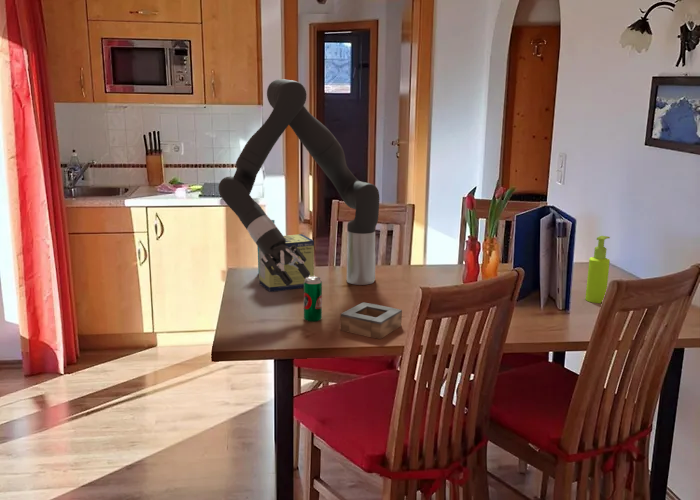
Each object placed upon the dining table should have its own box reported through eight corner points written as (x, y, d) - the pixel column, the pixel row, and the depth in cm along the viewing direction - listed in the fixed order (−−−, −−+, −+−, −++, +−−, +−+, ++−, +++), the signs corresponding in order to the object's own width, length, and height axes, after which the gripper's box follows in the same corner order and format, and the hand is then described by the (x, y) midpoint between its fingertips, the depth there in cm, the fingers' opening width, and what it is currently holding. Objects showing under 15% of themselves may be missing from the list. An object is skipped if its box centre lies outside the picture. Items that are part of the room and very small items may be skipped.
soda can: (319, 323, 188) (319, 281, 185) (301, 321, 188) (301, 280, 186) (323, 317, 192) (323, 276, 190) (306, 316, 193) (306, 275, 190)
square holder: (363, 317, 192) (363, 302, 191) (401, 325, 186) (402, 309, 185) (340, 330, 182) (340, 313, 181) (380, 339, 176) (380, 322, 175)
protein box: (314, 286, 221) (314, 240, 218) (269, 292, 215) (268, 244, 211) (302, 278, 231) (302, 233, 227) (258, 283, 224) (257, 237, 220)
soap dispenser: (609, 299, 212) (616, 236, 207) (600, 304, 207) (607, 240, 202) (591, 295, 216) (597, 233, 211) (582, 300, 211) (588, 236, 206)
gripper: (257, 231, 185) (292, 278, 182) (288, 223, 197) (321, 267, 194) (242, 247, 189) (276, 294, 186) (274, 238, 201) (306, 282, 198)
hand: (299, 280), depth 190 cm, fingers open, 8 cm apart
